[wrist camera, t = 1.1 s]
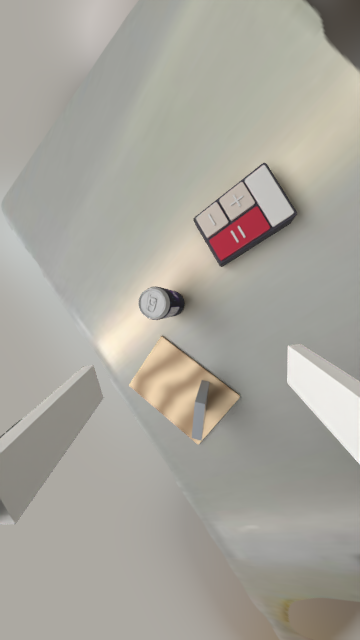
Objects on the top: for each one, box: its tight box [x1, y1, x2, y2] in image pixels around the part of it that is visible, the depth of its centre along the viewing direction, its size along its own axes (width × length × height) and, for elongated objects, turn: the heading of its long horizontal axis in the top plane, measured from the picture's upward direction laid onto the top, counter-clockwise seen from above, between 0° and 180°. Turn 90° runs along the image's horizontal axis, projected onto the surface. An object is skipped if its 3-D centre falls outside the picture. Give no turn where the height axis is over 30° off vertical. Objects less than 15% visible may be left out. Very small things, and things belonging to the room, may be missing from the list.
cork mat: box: [129, 336, 240, 444], centre depth 41 cm, size 22×16×1 cm
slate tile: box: [192, 380, 210, 441], centre depth 35 cm, size 2×7×9 cm, turn 175°
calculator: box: [194, 163, 297, 267], centre depth 33 cm, size 11×4×15 cm
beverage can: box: [139, 287, 184, 320], centre depth 34 cm, size 6×6×12 cm
